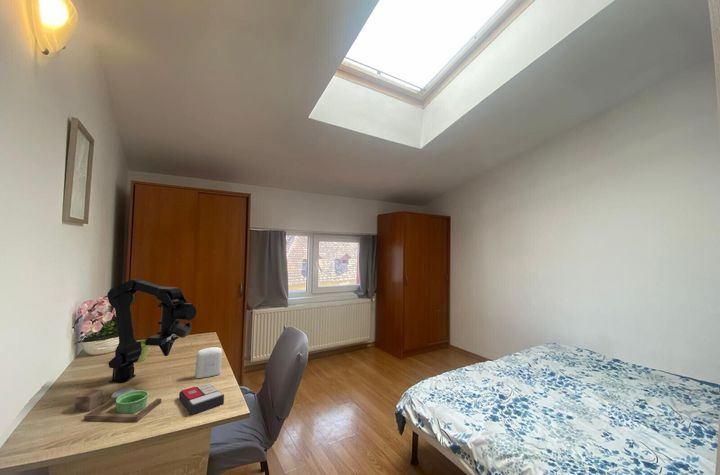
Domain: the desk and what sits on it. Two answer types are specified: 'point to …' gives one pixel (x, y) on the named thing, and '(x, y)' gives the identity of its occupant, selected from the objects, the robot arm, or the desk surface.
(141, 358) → the plant pot
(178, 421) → the desk surface
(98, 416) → the bay
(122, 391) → the pale grey dome
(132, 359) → the robot arm
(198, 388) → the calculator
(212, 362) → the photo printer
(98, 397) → the walnut block
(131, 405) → the ramekin
